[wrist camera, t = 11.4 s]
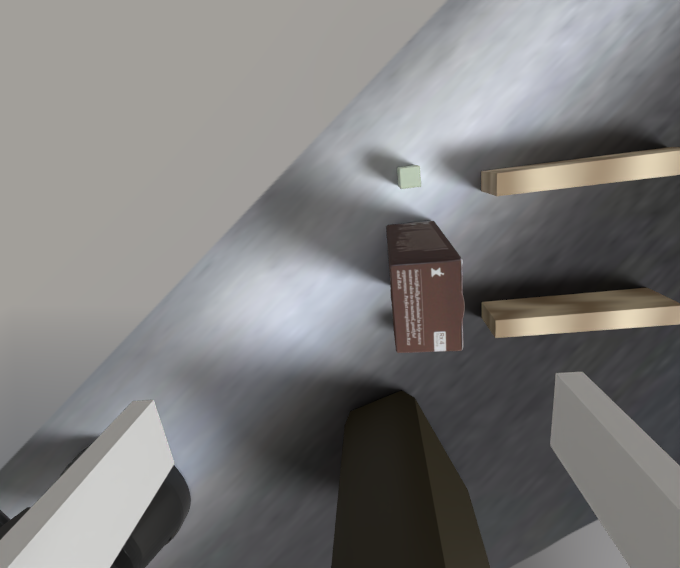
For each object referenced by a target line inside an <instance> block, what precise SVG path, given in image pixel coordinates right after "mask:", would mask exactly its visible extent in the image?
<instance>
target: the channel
mask: <svg viewBox="0 0 680 568" xmlns="http://www.w3.org/2000/svg"><path fill="white" fill-rule="evenodd" d="M671 175H680V147H667V148H660V149H652V150H644V151H636V152H628V153H620V154H612V155H604V156H597V157H589V158H581V159H573V160H565V161H557V162H549V163H541V164H534V165H526V166H518V167H510V168H502V169H494V170H486V171H481V191H482V192H485V193H489V194H492V195H495V196H503V195H511V194H520V193H528V192H536V191H545V190H553V189H562V188H570V187H579V186H587V185H595V184H604V183H612V182H621V181H629V180H638V179H646V178H654V177H663V176H671ZM482 319H483V320H484V322H485V323H486V325H487V326H488V328H489V329H490V331H491V332H492V334H493V335H494V337H495V338H502V337H515V336H529V335H542V334H555V333H569V332H582V331H595V330H609V329H622V328H635V327H649V326H662V325H675V324H680V303H678V302H676V301H674V300H672V299H670V298H667V297H665V296H663V295H661V294H659V293H657V292H655V291H653V290H651V289H649V288H638V289H626V290H615V291H603V292H591V293H580V294H568V295H557V296H545V297H534V298H522V299H510V300H499V301H487V302H482Z"/></svg>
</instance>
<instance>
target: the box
mask: <svg viewBox="0 0 680 568" xmlns="http://www.w3.org/2000/svg"><path fill="white" fill-rule="evenodd" d="M386 230H387V244H388V259H389V272H390V284H391V301H392V314H393V326H394V336H395V345H396V351H397V353H412V352H433V351H461V350H462V349H463V316H464V309H465V305H464V298H463V260H462V258H461V257H460V256H459V254H458V253H457V251H456V250H455V249H454V247H453V246H452V245H451V243H450V242H449V241H448V239H447V238H446V237H445V235H444V234H443V233H442V231H441V230H440V228H439V227H438V226H437V225H436V223H435V222H434V221H422V222H411V223H403V224H393V225H387V226H386Z"/></svg>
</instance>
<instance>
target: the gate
mask: <svg viewBox="0 0 680 568" xmlns="http://www.w3.org/2000/svg"><path fill="white" fill-rule="evenodd" d="M397 175H398V186H399V187H400V188H401V189H406V188H414V187H421V177H420V166H417V165H412V166H404V167H397Z"/></svg>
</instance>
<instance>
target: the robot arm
mask: <svg viewBox="0 0 680 568" xmlns="http://www.w3.org/2000/svg"><path fill="white" fill-rule="evenodd" d="M550 446H551V447H552V449H553V450H554V452H555V453H556V455H557V456H558V458H559V460H560V461H561V463H562V464H563V466H564V467H565V469H566V470H567V472H568V473H569V475H570V476H571V478H572V479H573V481H574V482H575V484H576V485H577V487H578V489H579V490H580V492H581V493H582V495H583V496H584V498H585V499H586V501H587V502H588V504H589V505H590V507H591V508H592V510H593V511H594V513H595V514H596V516H597V518H598V519H599V521H600V522H601V524H602V525H603V527H604V528H605V530H606V531H607V533H608V534H609V536H610V537H611V539H612V540H613V542H614V543H615V545H616V546H617V548H618V550H619V551H620V552H621V554H622V556H623V557H624V559H625V560H626V562H627V563H628V565H629V566H630V568H680V466H679V465H678V464H677V463H676V462H675V461H674V460H673V459H672V458H671V457H670V456H669V455H668V454H667V453H666V452H665V451H664V450H663V449H662V448H661V447H660V446H658V445H657V444H656V443H655V442H654V441H653V440H652V439H651V438H650V437H649V436H648V435H647V434H646V433H645V432H644V431H643V430H642V429H641V428H640V427H639V426H638V425H637V424H636V423H635V422H634V421H633V420H632V419H631V418H630V417H629V416H627V415H626V414H625V413H624V412H623V411H622V410H621V409H620V408H619V407H618V406H617V405H616V404H615V403H614V402H613V401H612V400H611V399H610V398H609V397H608V396H607V395H606V394H605V393H604V392H603V391H602V390H601V389H600V388H599V387H598V386H596V385H595V384H594V383H593V382H592V381H591V380H590V379H589V378H588V377H587V376H586V375H585V374H584V373H583V372H570V373H556V380H555V392H554V404H553V417H552V429H551V442H550ZM174 464H175V463H174V460H173V457H172V454H171V451H170V448H169V445H168V441H167V438H166V435H165V432H164V429H163V426H162V423H161V420H160V417H159V414H158V411H157V408H156V405H155V402H154V400H142V401H132V402H131V403H130V405H129V406H128V407H127V408H126V409H125V410H124V411H123V412H122V413H121V414H120V415H119V416H118V417H117V418H116V419H115V420H114V421H113V422H112V423H111V424H110V425H109V427H108V428H107V429H106V430H105V431H104V432H103V433H102V434H101V435H100V436H99V437H98V438H97V439H96V440H95V441H94V442H93V443H92V444H91V445H90V446H89V447H87V448H86V449H84V450H83V451H82V452H81V453H80V454H79V455H78V456H77V457H76V458H75V459H74V460H73V461H72V462H71V463H70V464H69V465H68V466H67V467H66V468H65V470H64V471H63V473H62V474H61V476H60V478H59V479H58V480H57V481H56V482H55V483H54V484H53V485H52V486H51V487H50V488H49V489H48V491H47V492H46V493H45V494H44V495H43V496H42V497H41V498H40V499H39V500H38V501H37V502H36V503H35V504H34V505H33V506H32V507H27V508H26V509H24V510H23V511H22V512H20V513H19V514H18V515H16V516H15V517H14V518H12V519H9V518H8V517H7V516H6V515H5V514H4V513H3V512H2V511H1V510H0V568H145V567H146V566H147V565H148V564H149V563H150V561H151V560H152V559H153V558H154V557H155V556H156V555H157V553H158V552H159V551H160V550H161V549H162V548H163V546H165V545H166V544H168V543H169V542H170V541H171V540H172V539H173V538H174V537H175V535H176V534H177V533H178V531H179V529H180V528H181V526H182V524H183V522H184V520H185V518H186V516H187V514H188V512H189V509H190V502H191V498H190V492H189V489H188V486H187V484H186V482H185V480H184V478H183V476H182V475H181V474H180V472H179V471H178V470H177V469H176V468H175V467H174V466H173V465H174Z"/></svg>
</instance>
